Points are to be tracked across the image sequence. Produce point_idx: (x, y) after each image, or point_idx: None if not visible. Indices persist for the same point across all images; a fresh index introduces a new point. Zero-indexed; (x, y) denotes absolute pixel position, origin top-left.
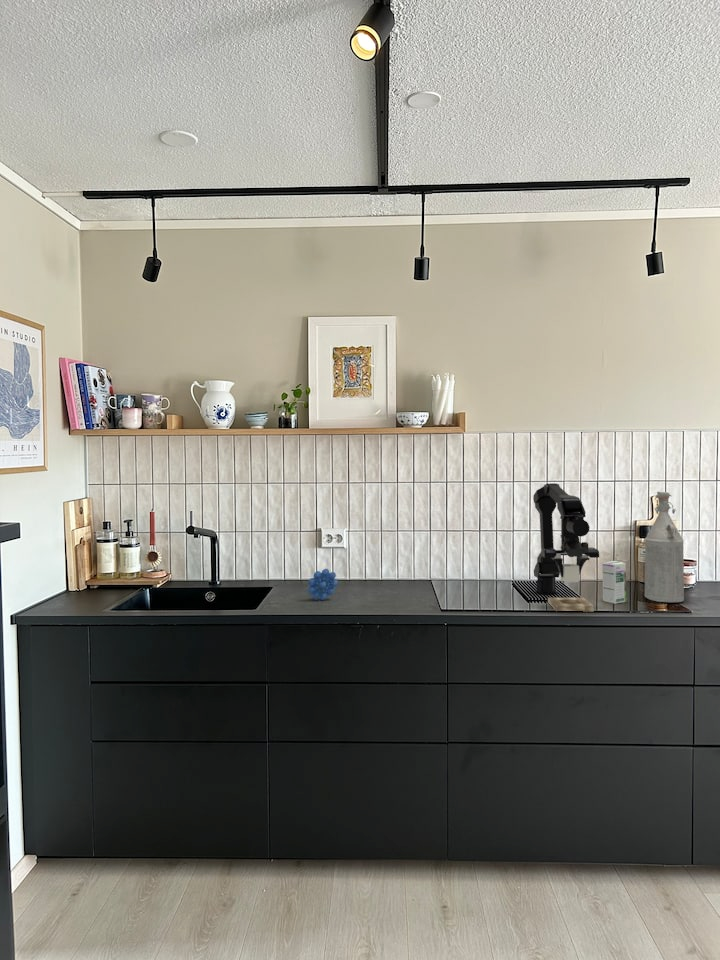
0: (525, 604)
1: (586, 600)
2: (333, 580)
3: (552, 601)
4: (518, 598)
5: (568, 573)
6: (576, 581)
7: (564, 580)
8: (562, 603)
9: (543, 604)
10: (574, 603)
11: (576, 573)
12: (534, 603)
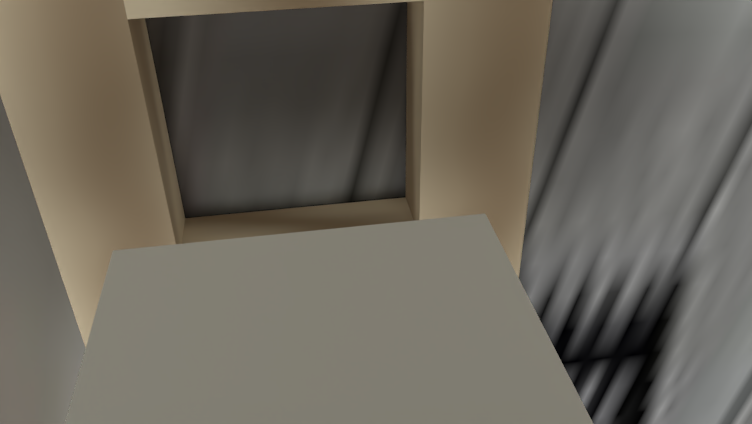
0: (747, 201)
1: (44, 223)
2: None
3: (530, 132)
4: (695, 401)
5: (439, 389)
6: (185, 249)
7: (495, 244)
8: (430, 20)
9: (560, 217)
10: (212, 227)
11: (162, 420)
12: (636, 249)
